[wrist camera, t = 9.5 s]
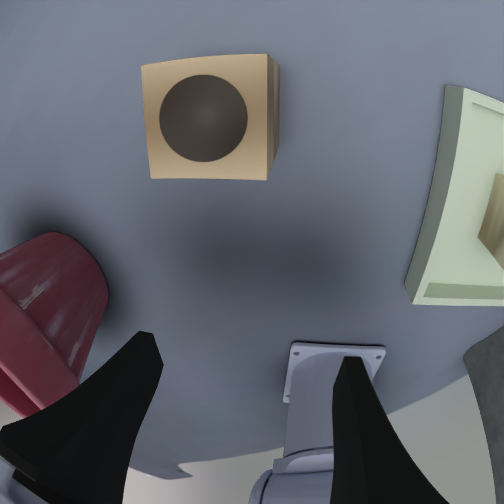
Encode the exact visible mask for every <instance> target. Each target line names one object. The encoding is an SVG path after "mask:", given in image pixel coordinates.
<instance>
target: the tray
mask: <svg viewBox="0 0 504 504" xmlns="http://www.w3.org/2000/svg"><path fill="white" fill-rule="evenodd" d="M496 173H499V174H502V175H504V103H503V102H500V101H498V100H495V99H493V98H491V97H488V96H486V95H483V94H480V93H478V92H475V91H472V90H469V89H466V88H463V87H456V86H448V85H445V95H444V107H443V116H442V125H441V132H440V140H439V146H438V153H437V158H436V164H435V170H434V175H433V180H432V185H431V189H430V194H429V198H428V203H427V207H426V211H425V215H424V219H423V223H422V227H421V230H420V234H419V238H418V241H417V245H416V248H415V251H414V255H413V258H412V261H411V264H410V267H409V270H408V273H407V276H406V279H405V282H404V284H405V286H406V289H407V292H408V294H409V297H410V300H411V303H412V304H420V305H455V306H504V270H503V269H502V267H501V266H500V265H499V263H498V262H497V261H496V260H495V258H494V257H493V256H492V254H491V253H490V252H489V251H488V249H487V248H486V247H485V246H484V244H483V243H482V242H481V241H480V240H479V238H478V234H479V231H480V228H481V225H482V222H483V219H484V215H485V212H486V209H487V205H488V202H489V198H490V194H491V190H492V186H493V182H494V178H495V174H496Z"/></svg>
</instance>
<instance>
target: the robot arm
mask: <svg viewBox="0 0 504 504" xmlns="http://www.w3.org/2000/svg"><path fill="white" fill-rule="evenodd" d="M385 354H386V349H385V347H377V346H347V345H327V344H312V343H293V344H292V345H291V350H290V357H289V364H288V370H287V377H286V383H285V389H284V395H283V401H284V402H285V403H289V408H288V418H287V427H286V436H285V445H284V454H283V458H280V459H274V464H273V469H271V470H267V471H266V472H264V473H263V474H262V475H261V476H260V478H259V479H258V480H257V482H256V483H255V485H254V486H253V489H252V491H251V494H250V498H249V504H449V503H448V502H447V501H446V500H445V499H444V498H443V497H442V496H441V495H440V494H439V493H438V491H437V490H436V489H435V488H434V487H433V486H432V484H431V483H430V482H429V481H428V480H427V478H426V477H425V476H424V475H423V473H422V472H421V471H420V469H419V468H418V467H417V466H416V464H415V463H414V461H413V460H412V458H411V457H410V455H409V454H408V452H407V451H406V449H405V448H404V446H403V445H402V443H401V441H400V440H399V438H398V436H397V434H396V433H395V431H394V429H393V427H392V425H391V423H390V421H389V420H388V418H387V416H386V414H385V412H384V409H383V407H382V405H381V403H380V401H379V399H378V397H377V394H376V392H375V390H374V385H373V378H374V376H375V374H376V372H377V370H378V368H379V366H380V364H381V362H382V360H383V358H384V356H385ZM163 366H164V364H163V361H162V359H161V356H160V353H159V350H158V347H157V344H156V341H155V338H154V335H153V333H148V332H143V331H139V332H137V333H136V334H135V335H134V336H133V337H132V338H131V339H130V340H129V341H128V342H127V343H126V344H125V345H124V346H123V347H122V348H121V349H120V350H119V351H118V352H117V353H116V354H114V355H113V356H112V357H111V358H110V359H109V360H108V361H107V362H106V363H105V364H104V365H103V366H102V367H101V368H99V369H98V370H97V371H96V372H95V373H94V374H92V375H91V376H90V377H89V378H88V379H87V380H85V381H84V382H83V383H82V384H80V385H79V386H78V387H77V388H75V389H74V390H73V391H71V392H70V393H68V394H67V395H66V396H64V397H63V398H61V399H59V400H58V401H56V402H55V403H53V404H51V405H50V406H48V407H46V408H44V409H43V410H41V411H39V412H37V413H35V414H33V415H31V416H28V417H26V418H24V419H21V420H19V421H16V422H13V423H11V424H8V425H5V426H3V427H2V429H1V430H0V456H1V457H0V504H122V500H123V493H124V486H125V481H126V475H127V470H128V466H129V462H130V458H131V454H132V450H133V446H134V443H135V439H136V436H137V434H138V431H139V428H140V426H141V424H142V421H143V419H144V417H145V414H146V412H147V410H148V407H149V405H150V403H151V401H152V398H153V396H154V394H155V391H156V389H157V386H158V383H159V380H160V376H161V373H162V369H163ZM3 458H4V459H5V460H4V459H3ZM8 462H9V463H8Z"/></svg>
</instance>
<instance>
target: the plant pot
mask: <svg viewBox="0 0 504 504" xmlns="http://www.w3.org/2000/svg"><path fill="white" fill-rule="evenodd" d="M108 298H109V293H108V286H107V283H106V280H105V277H104V275H103V273H102V271H101V269H100V267H99V265H98V264H97V262H96V261H95V259H94V258H93V257H92V256H91V254H90V253H89V252H88V251H87V250H86V249H85V248H84V247H83V246H82V245H81V244H79V243H78V242H77V241H76V240H74V239H72V238H71V237H69V236H67V235H65V234H62V233H59V232H47V233H44V234H42V235H40V236H38V237H35V238H33V239H31V240H29V241H26V242H24V243H22V244H20V245H17V246H15V247H13V248H11V249H9V250H7V251H5V252H3V253H1V254H0V400H2V401H3V402H4V403H5V404H6V405H8V406H9V407H10V408H11V409H12V410H14V411H15V412H16V413H18V414H19V415H20V416H22V417H23V418H26V417H28V416H31V415H33V414H35V413H37V412H39V411H41V410H43V409H44V408H46V407H48V406H50V405H51V404H53V403H55V402H56V401H58V400H59V399H61V398H63V397H64V396H66V395H67V394H68V393H70V392H71V391H73V390H74V389H75V388H77V387H78V386H79V385H80V384H79V381H80V378H81V375H82V372H83V369H84V366H85V363H86V360H87V357H88V354H89V351H90V349H91V346H92V343H93V340H94V337H95V334H96V331H97V329H98V326H99V323H100V320H101V318H102V315H103V313H104V311H105V308H106V306H107V303H108Z"/></svg>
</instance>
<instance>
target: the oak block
mask: <svg viewBox="0 0 504 504" xmlns="http://www.w3.org/2000/svg"><path fill="white" fill-rule="evenodd" d="M141 70H142V89H143V104H144V117H145V128H146V139H147V148H148V157H149V165H150V173H151V179H154V178H212V179H247V180H267V178H268V175H269V172H270V169H271V166H272V163H273V161H274V158H275V155H276V152H277V149H278V146H279V64H278V63H277V62H275V61H274V60H273V59H272V58H271V57H270V56H269V55H268V54H238V55H220V56H208V57H197V58H188V59H180V60H173V61H166V62H160V63H154V64H148V65H143V66H141Z"/></svg>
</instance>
